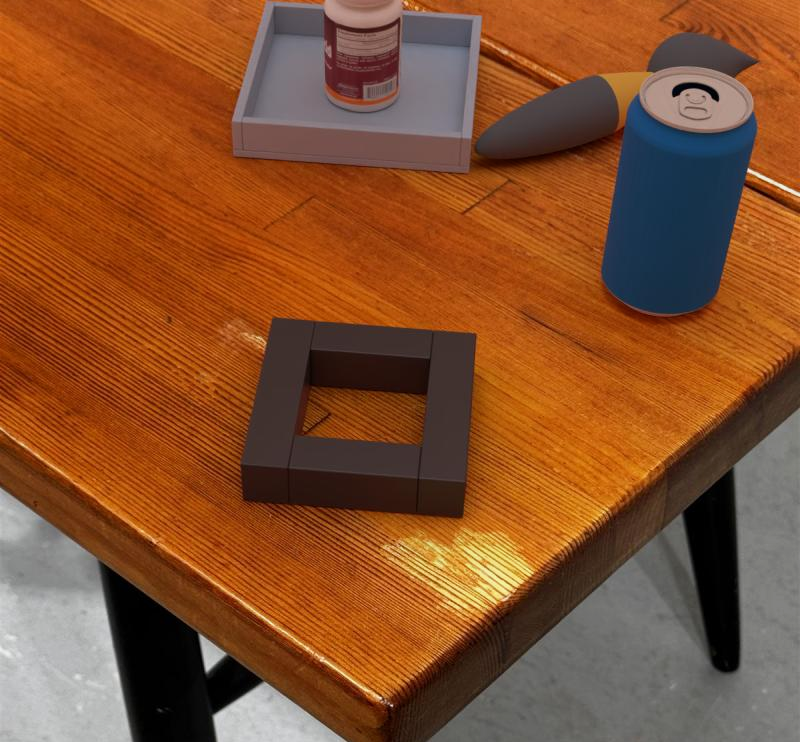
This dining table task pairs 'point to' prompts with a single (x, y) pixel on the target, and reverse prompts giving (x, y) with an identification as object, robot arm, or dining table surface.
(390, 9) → the pill bottle
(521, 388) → the dining table surface
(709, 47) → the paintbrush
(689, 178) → the beverage can
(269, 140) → the tray
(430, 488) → the frame
